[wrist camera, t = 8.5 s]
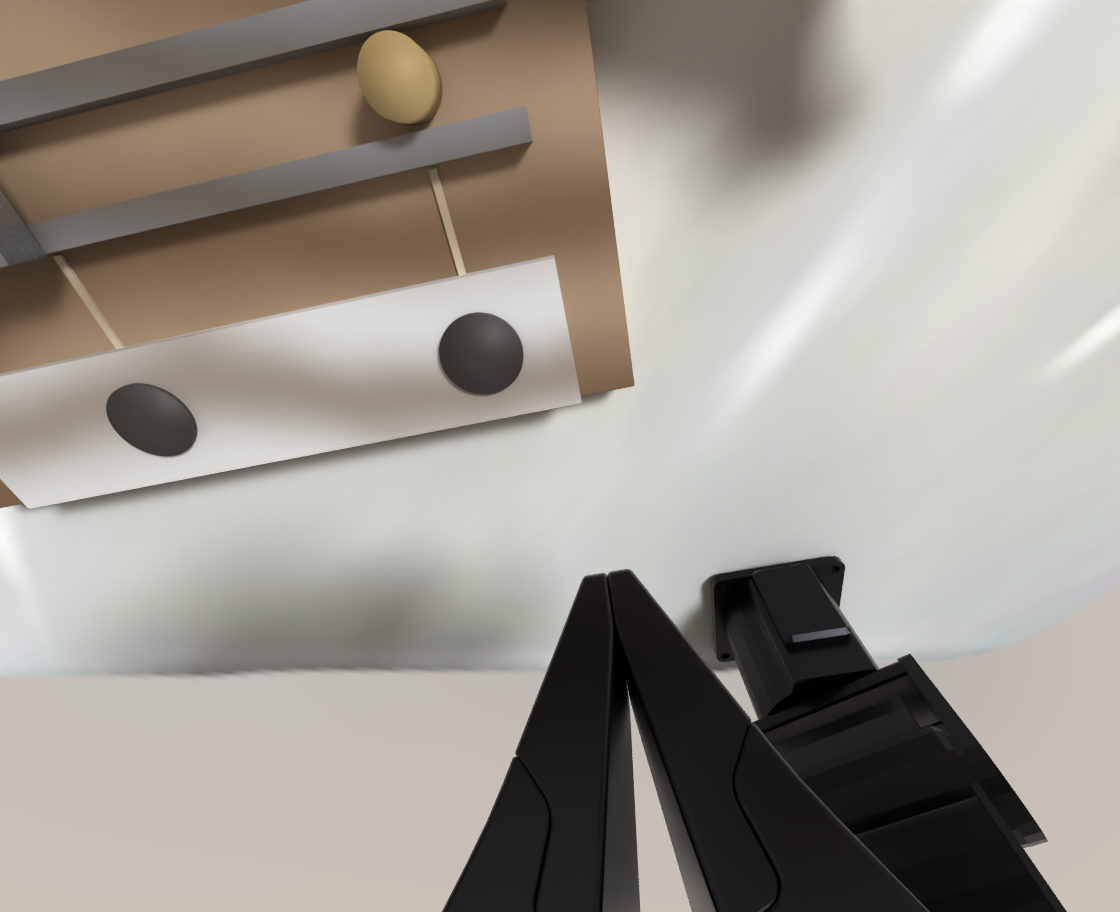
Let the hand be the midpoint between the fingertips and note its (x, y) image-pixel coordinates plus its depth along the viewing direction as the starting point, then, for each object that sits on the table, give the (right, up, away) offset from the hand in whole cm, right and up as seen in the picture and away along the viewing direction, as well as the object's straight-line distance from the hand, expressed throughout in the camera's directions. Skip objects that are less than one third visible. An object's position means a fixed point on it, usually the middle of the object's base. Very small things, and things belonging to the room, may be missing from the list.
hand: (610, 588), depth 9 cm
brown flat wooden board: (-12, +9, +8) cm, 17 cm away
